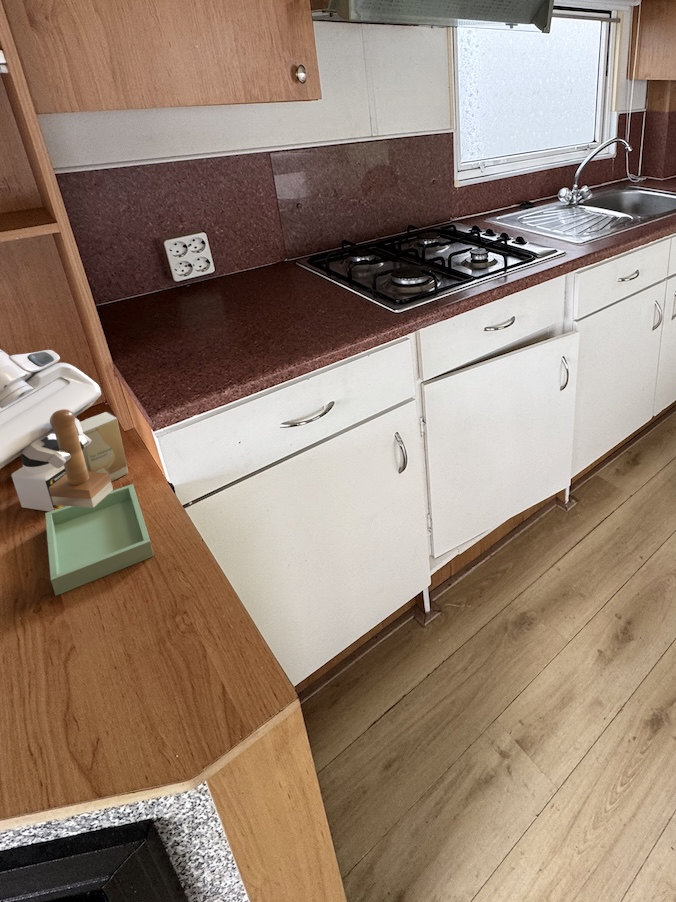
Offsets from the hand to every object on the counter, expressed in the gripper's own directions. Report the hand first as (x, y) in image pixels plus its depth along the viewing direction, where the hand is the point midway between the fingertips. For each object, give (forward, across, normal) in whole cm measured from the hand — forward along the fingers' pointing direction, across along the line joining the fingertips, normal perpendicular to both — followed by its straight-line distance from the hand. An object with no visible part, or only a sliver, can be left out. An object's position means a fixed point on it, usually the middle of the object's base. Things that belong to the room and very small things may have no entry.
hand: (76, 454), depth 81 cm
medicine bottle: (0, +15, +30) cm, 33 cm away
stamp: (+5, 0, +6) cm, 7 cm away
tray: (+11, +6, +19) cm, 23 cm away
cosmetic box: (+4, +21, +26) cm, 34 cm away
